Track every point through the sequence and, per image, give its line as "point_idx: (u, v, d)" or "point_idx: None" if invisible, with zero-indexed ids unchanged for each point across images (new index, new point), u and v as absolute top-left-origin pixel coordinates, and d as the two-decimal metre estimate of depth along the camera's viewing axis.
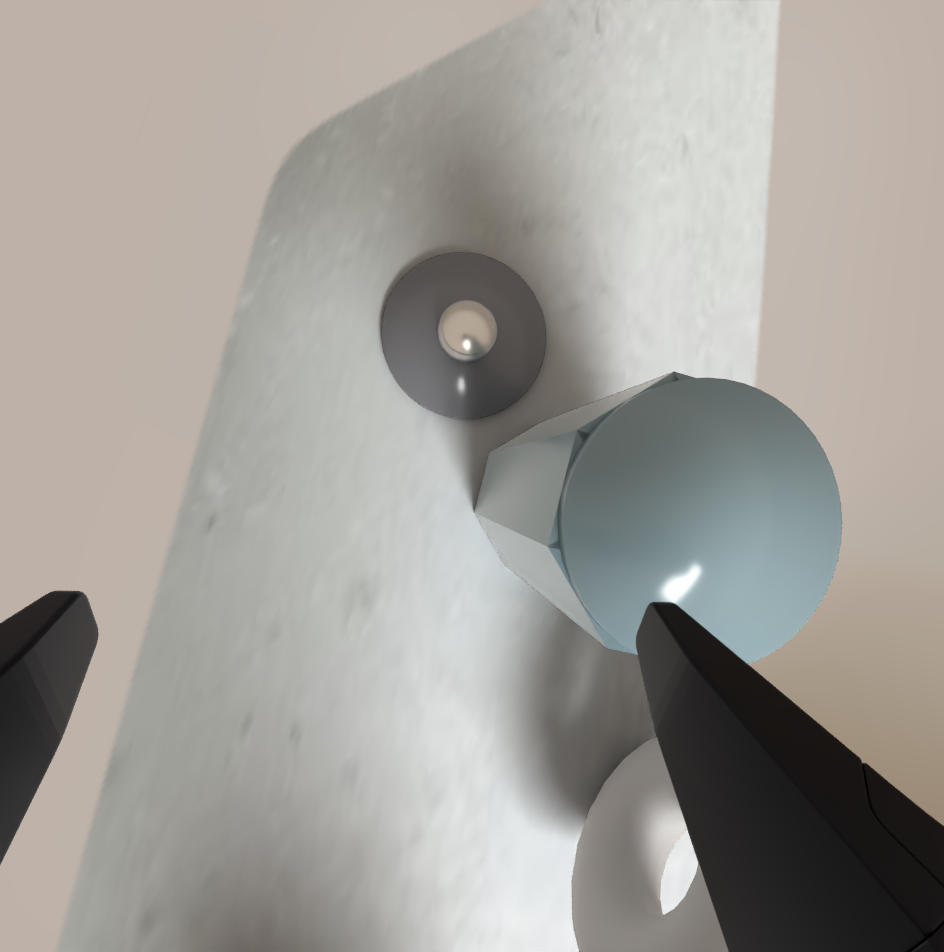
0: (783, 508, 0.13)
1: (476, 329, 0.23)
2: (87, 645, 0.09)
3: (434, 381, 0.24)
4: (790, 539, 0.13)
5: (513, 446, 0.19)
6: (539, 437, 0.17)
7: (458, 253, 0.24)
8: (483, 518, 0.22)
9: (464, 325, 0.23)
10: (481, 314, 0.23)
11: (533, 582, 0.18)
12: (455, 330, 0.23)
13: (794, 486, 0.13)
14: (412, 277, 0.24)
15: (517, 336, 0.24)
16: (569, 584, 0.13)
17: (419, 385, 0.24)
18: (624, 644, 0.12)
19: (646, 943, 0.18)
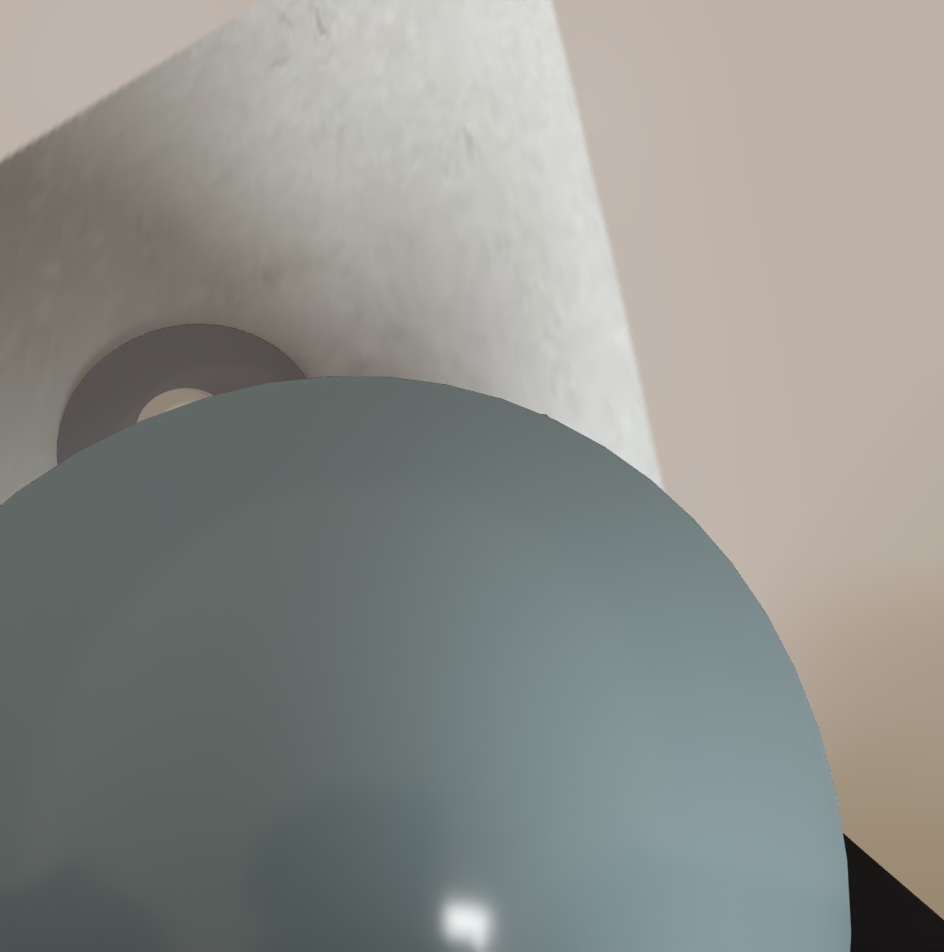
0: (617, 738, 0.04)
1: None
2: None
3: None
4: (670, 841, 0.04)
5: None
6: None
7: (168, 328, 0.16)
8: None
9: None
10: None
11: None
12: None
13: (634, 653, 0.04)
14: (99, 375, 0.16)
15: None
16: None
17: None
18: None
19: None
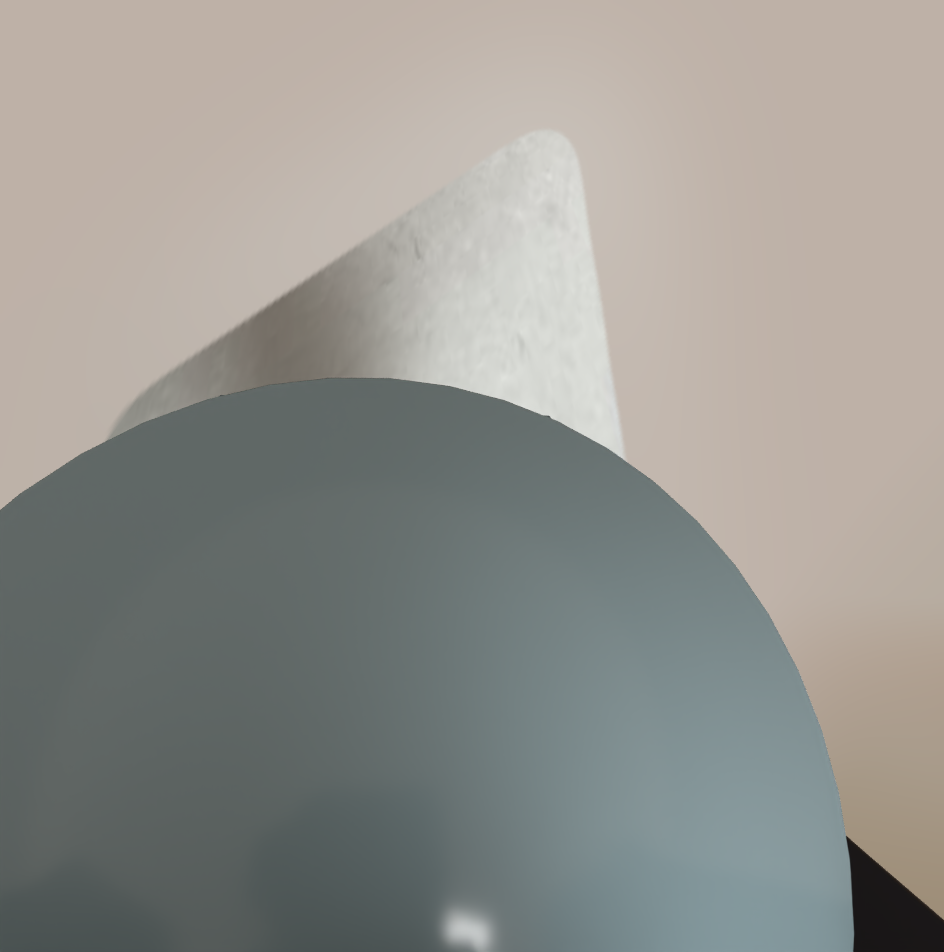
0: (620, 740, 0.04)
1: None
2: None
3: None
4: (673, 843, 0.04)
5: None
6: None
7: None
8: None
9: None
10: None
11: None
12: None
13: (637, 655, 0.04)
14: None
15: None
16: None
17: None
18: None
19: None
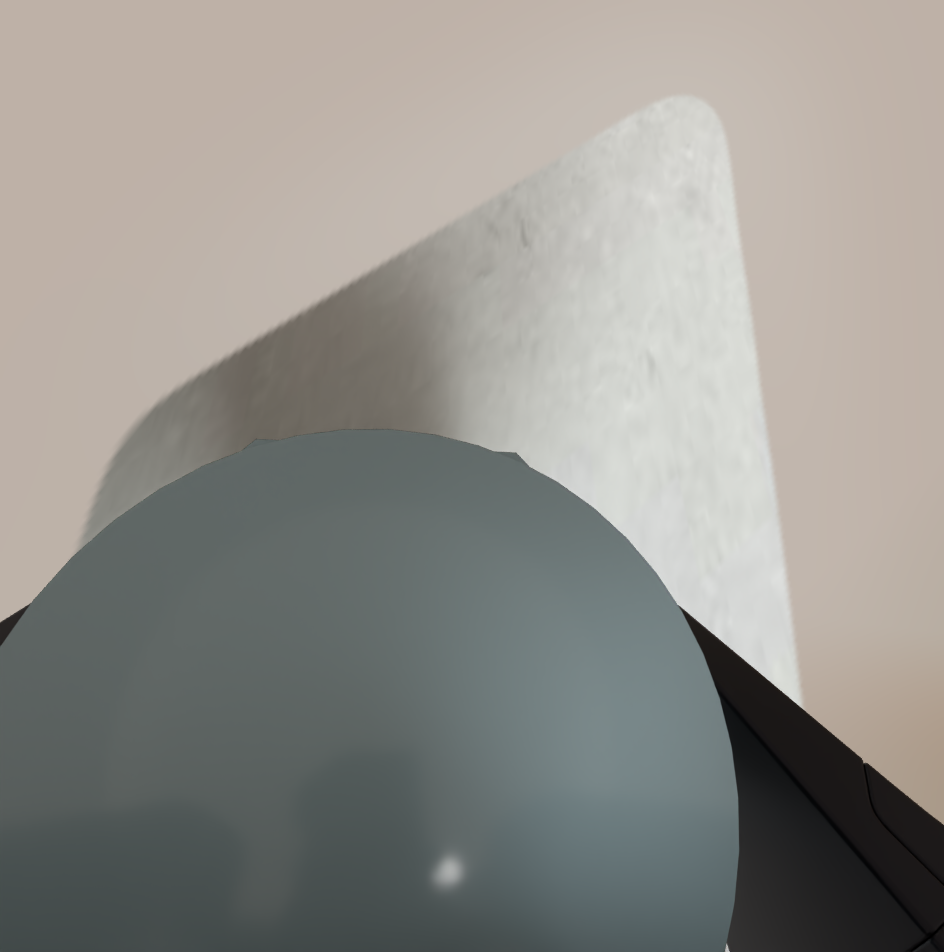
0: (564, 705, 0.05)
1: None
2: None
3: None
4: (602, 781, 0.05)
5: None
6: None
7: None
8: None
9: None
10: None
11: None
12: None
13: (577, 641, 0.05)
14: None
15: None
16: None
17: None
18: None
19: None
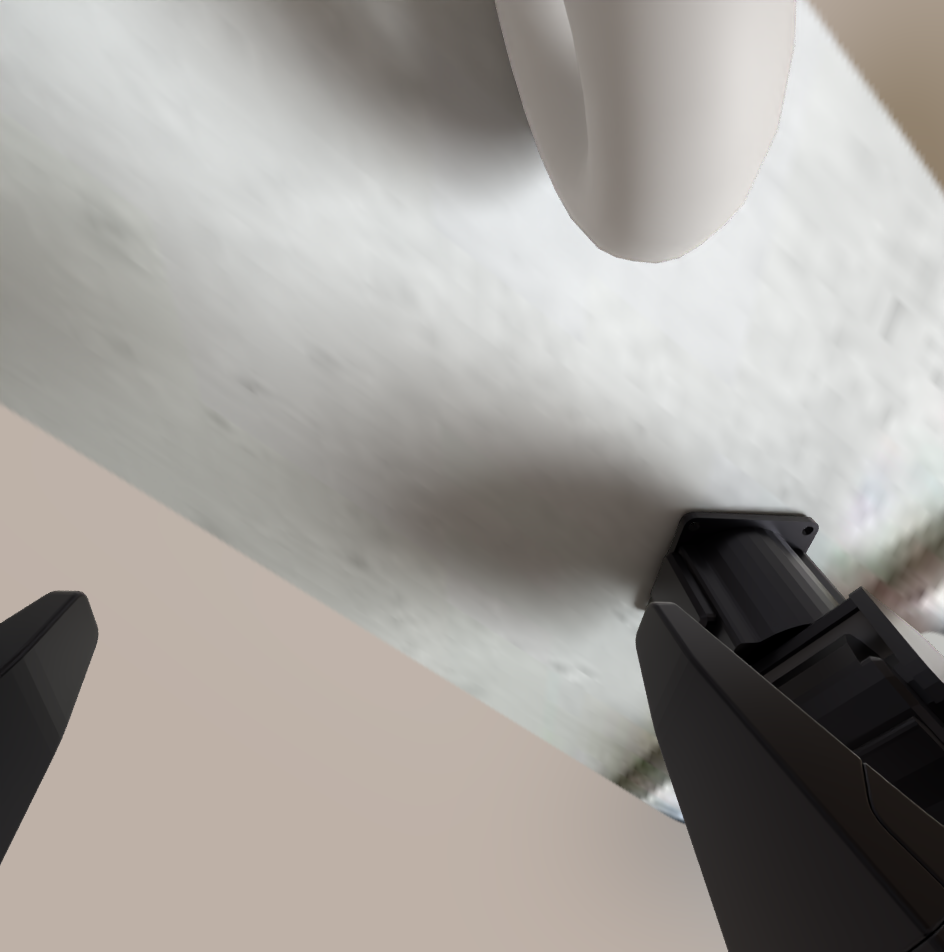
0: None
1: None
2: (87, 645, 0.09)
3: None
4: None
5: None
6: None
7: None
8: None
9: None
10: None
11: None
12: None
13: None
14: None
15: None
16: None
17: None
18: None
19: (590, 150, 0.11)
